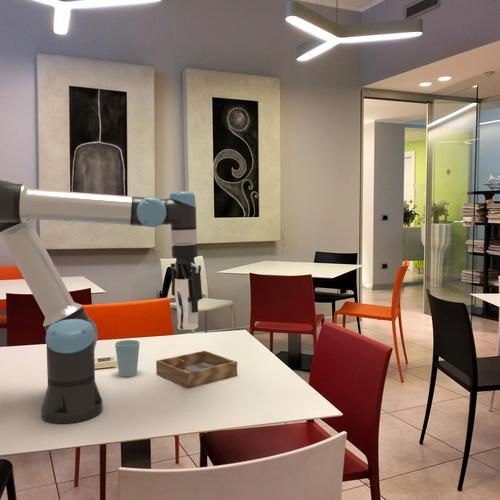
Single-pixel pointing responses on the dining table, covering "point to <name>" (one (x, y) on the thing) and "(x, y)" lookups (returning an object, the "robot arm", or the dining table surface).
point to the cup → (127, 357)
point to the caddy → (196, 368)
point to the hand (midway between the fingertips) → (187, 321)
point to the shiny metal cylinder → (183, 304)
